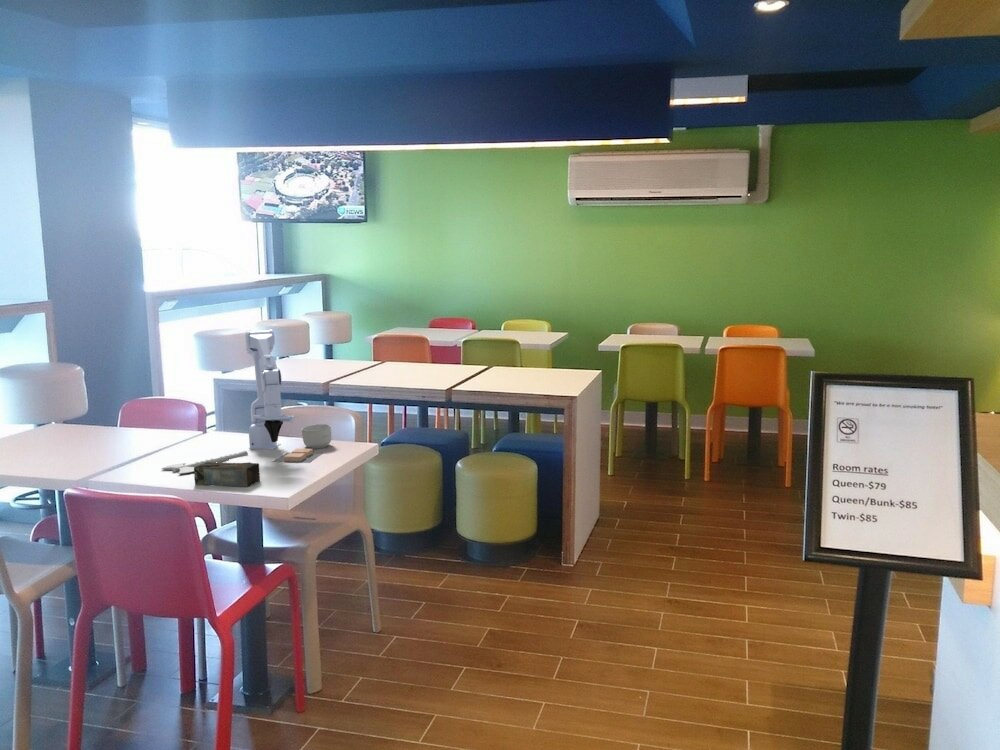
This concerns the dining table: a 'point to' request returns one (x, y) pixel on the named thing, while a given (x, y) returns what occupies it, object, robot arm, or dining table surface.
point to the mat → (306, 460)
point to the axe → (190, 467)
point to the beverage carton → (226, 474)
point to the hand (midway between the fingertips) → (274, 441)
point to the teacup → (317, 435)
